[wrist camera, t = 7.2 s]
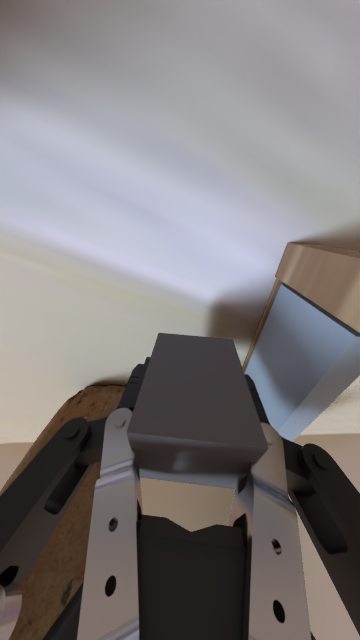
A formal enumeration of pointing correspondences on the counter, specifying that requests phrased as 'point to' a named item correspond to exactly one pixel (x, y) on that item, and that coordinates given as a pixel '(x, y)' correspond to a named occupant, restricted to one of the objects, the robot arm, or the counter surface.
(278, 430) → the door
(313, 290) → the frame
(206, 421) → the gray rectangular block
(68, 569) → the brown bread loaf
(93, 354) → the counter surface
